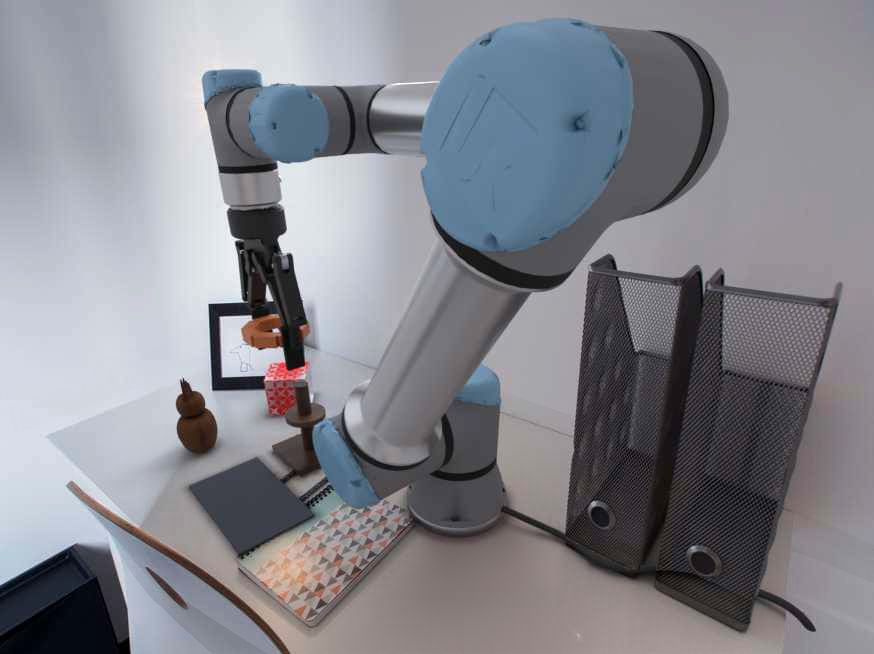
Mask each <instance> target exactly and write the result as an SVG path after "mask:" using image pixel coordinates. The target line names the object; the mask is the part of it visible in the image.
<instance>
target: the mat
mask: <svg viewBox="0 0 874 654" xmlns="http://www.w3.org/2000/svg"><path fill="white" fill-rule="evenodd" d="M188 488H189V490H190V491H191V492H192V494H193V495H194V496H195V497H196V499H197V501H198V502H199V503H200V504H201V506H202V507H203V508H204V510H205V511H206V512H207V513H208V515H209V516H210V518H211V519H212V521H213V523H214V524H215V525H216V526H217V527H218V528H219V530H220V532H221V533H222V535H224V537H225V538H226V540H227V541H228V542H229V543H230V545H231V546H232V547H233V549H234V550H235V552H236V553H237V555H238V556H241V555H244V554H245V553H247V552H249V551H251V550H253V549H255V548H257V547H259V546H262V545H263V544H265V543H267V542H269V541H271V540H272V539H275V538H276V537H279V536H280V535H282V534H283V533H285V532H287V531H289V530H292V529H293V528H295V527H297V526H299V525H301V524H303V523H305V522H307V521H309V520H311V519H313V518H314V517H316V514H315V512H313V511H312V510H311V509H310V508H309V507H308V506H307V505H306V504H305V503H304V502H303V501H302V500H301V498H299V497H298V496H297V495H296V494H295V493H294V492H293V491H292V490H291V489H290V488H289V487H288V486H287V485H286V484H285V483H284V482H283V481H282V480H281V479H280V478H279V477H278V476H276V474H275V473H274V472H273V471H272V470H271V469H269V467H268V466H266V464H265V463H264V462H263V461H261V460H260V458H259V457H253V458H251V459H249V460H247V461H244V462H241V463H239V464H237V465H235V466H232V467H230V468H228V469H226V470H223V471H221V472H218V473H216V474H214V475H210V476H209V477H205V478H204V479H202V480H199V481H197V482H194V483H192V484H189V485H188Z"/></svg>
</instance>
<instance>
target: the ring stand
mask: <svg viewBox="0 0 874 654" xmlns="http://www.w3.org/2000/svg"><path fill="white" fill-rule="evenodd" d="M293 386H294V392H295V398H296V405H295V406H293V407H291V408H289V409H288V410H287V411H286V413H285V415H284V419H285V423H286V424H287V425H288V426H290V427H292V428H297V429H300V433H297V434H296V435H293V436H291V437H288V438H286V439H284V440H282V441H279V442H277V443H274V444H271V449H272V453H273V454H274V455H276V457H278V458H279V460H281V461H282V462H283V463H284V464H285V465H287V467H288V468H290V470H291V471H293V472H294V473H295V474H296V475H297V477H299V478H302V477H304V476H307V475H309V474H311V473H313V472H315V471H317V470H320V469H322V467H321V465H320V463H319V460H318V458H317V455H316V452H315V448H314V444H313V429H314V427H315V426H316V425H317V424H318V423H320V422H321V421H323V420H324V419H325V418H327V417H326V416H327V414H326V408H325V407H324V405H322V404H319V403H316V402H312V403H311V400H310V393H309V387H308V382H306V381H298V382H295V383H294V385H293Z"/></svg>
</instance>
